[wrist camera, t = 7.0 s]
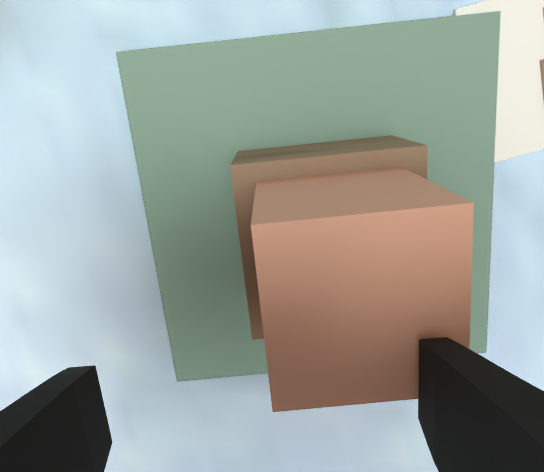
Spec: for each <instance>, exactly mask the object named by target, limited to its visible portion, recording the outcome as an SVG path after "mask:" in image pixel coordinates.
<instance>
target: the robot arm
mask: <svg viewBox="0 0 544 472" xmlns="http://www.w3.org/2000/svg"><path fill="white" fill-rule="evenodd" d="M418 418H419V421H420V424H421V427H422V430H423V433H424V436H425V439H426V442H427V444H428V447H429V450H430V452H431V455H432V458H433V460H434V463H435V465H436V467H437V469H438V471H439V472H544V391H542V390H540V389H538V388H537V387H535V386H533V385H531V384H529V383H527V382H526V381H524V380H522V379H520V378H518V377H517V376H515V375H513V374H511V373H510V372H508V371H506V370H504V369H503V368H501V367H499V366H498V365H496V364H494V363H492V362H491V361H489V360H487V359H486V358H484V357H482V356H480V355H479V354H477V353H475V352H474V351H472V350H470V349H468V348H467V347H465V346H463V345H461V344H460V343H458V342H456V341H454V340H452V339H450V338H448V337H441V338H428V339H419V394H418ZM111 445H112V439H111V434H110V430H109V425H108V420H107V416H106V411H105V407H104V402H103V398H102V393H101V389H100V384H99V380H98V375H97V371H96V366H83V367H71V368H67V369H65V370H63V371H61V372H59V373H58V374H56V375H54V376H53V377H51V378H50V379H48V380H46V381H45V382H43V383H42V384H40V385H39V386H37V387H36V388H34V389H33V390H31V391H30V392H28V393H27V394H25V395H24V396H22V397H21V398H19V399H18V400H16V401H15V402H13V403H12V404H10V405H9V406H8V407H6V408H5V409H3V410H2V411H0V472H104V470H105V466H106V463H107V459H108V456H109V452H110V448H111Z"/></svg>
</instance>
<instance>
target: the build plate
mask: <svg viewBox="0 0 544 472" xmlns="http://www.w3.org/2000/svg"><path fill="white" fill-rule="evenodd" d="M500 13H501V11H495V12H486V13H476V14H467V15H458V16H448V17H439V18H430V19H420V20H411V21H401V22H392V23H383V24H373V25H364V26H355V27H345V28H336V29H327V30H317V31H308V32H299V33H289V34H280V35H271V36H261V37H252V38H243V39H233V40H224V41H215V42H205V43H196V44H187V45H177V46H168V47H159V48H149V49H140V50H130V51H121V52H116V55H117V61H118V66H119V72H120V77H121V82H122V88H123V93H124V98H125V104H126V109H127V115H128V120H129V125H130V131H131V136H132V141H133V147H134V152H135V158H136V163H137V168H138V174H139V179H140V184H141V190H142V195H143V201H144V206H145V211H146V217H147V222H148V228H149V233H150V238H151V244H152V249H153V254H154V260H155V265H156V271H157V276H158V281H159V287H160V292H161V297H162V303H163V308H164V314H165V319H166V324H167V330H168V335H169V340H170V346H171V351H172V357H173V362H174V367H175V373H176V378H177V382H178V381H189V380H199V379H210V378H221V377H231V376H242V375H253V374H263V373H268V367H267V359H266V350H265V342H264V339H257V340H252V335H251V327H250V319H249V311H248V303H247V295H246V288H245V280H244V272H243V264H242V256H241V248H240V240H239V232H238V224H237V216H236V209H235V201H234V193H233V185H232V177H231V169H230V165H231V163H232V161H233V159H234V157H235V156H236V154H237V152H238V151H244V150H254V149H263V148H273V147H283V146H293V145H302V144H312V143H322V142H332V141H341V140H351V139H361V138H371V137H380V136H390V135H393V136H396V137H400V138H403V139H407V140H410V141H414V142H418V143H421V144H425V145H427V180H429V181H431V182H433V183H435V184H437V185H439V186H441V187H443V188H445V189H447V190H449V191H451V192H453V193H455V194H457V195H459V196H461V197H463V198H465V199H467V200H469V201H471V202H473V203H474V215H473V248H472V282H471V316H470V350H472V351H474V352H475V353H486V347H487V323H488V299H489V275H490V252H491V228H492V204H493V180H494V156H495V132H496V109H497V85H498V61H499V37H500Z"/></svg>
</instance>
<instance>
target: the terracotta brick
mask: <svg viewBox="0 0 544 472" xmlns="http://www.w3.org/2000/svg"><path fill="white" fill-rule="evenodd" d="M473 215H474V203H473V202H471V201H469V200H467V199H465V198H463V197H461V196H459V195H457V194H455V193H453V192H451V191H449V190H447V189H445V188H443V187H441V186H439V185H437V184H435V183H433V182H431V181H429V180H427V179H425V178H423V177H421V176H419V175H417V174H415V173H413V172H411V171H409V170H407V169H405V168H403V167H399V168H389V169H379V170H369V171H360V172H350V173H340V174H330V175H320V176H310V177H300V178H291V179H281V180H271V181H261V182H256V187H255V195H254V203H253V211H252V219H251V231H252V240H253V248H254V257H255V265H256V274H257V282H258V291H259V299H260V308H261V316H262V325H263V333H264V342H265V350H266V359H267V367H268V375H269V384H270V392H271V401H272V409H273V412H278V411H289V410H300V409H311V408H321V407H332V406H343V405H354V404H365V403H376V402H386V401H397V400H408V399H418V394H419V339H428V338H441V337H448V338H450V339H452V340H454V341H456V342H458V343H460V344H461V345H463V346H465V347H467V348H468V349H470V316H471V282H472V248H473Z"/></svg>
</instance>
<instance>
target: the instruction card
mask: <svg viewBox="0 0 544 472" xmlns="http://www.w3.org/2000/svg"><path fill="white" fill-rule="evenodd" d="M453 11H454V16H458V15H467V14H476V13H486V12H495V11H501V13H500V37H499V61H498V85H497V109H496V132H495V156H494V163H495V162H499V161H502V160H506V159H509V158H513V157H517V156H520V155H524V154H528V153H531V152H535V151H539V150H542V149H544V0H486V1H482V2H479V3H476V4H472V5H469V6H465V7H462V8H459V9H456V10H453Z"/></svg>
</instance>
